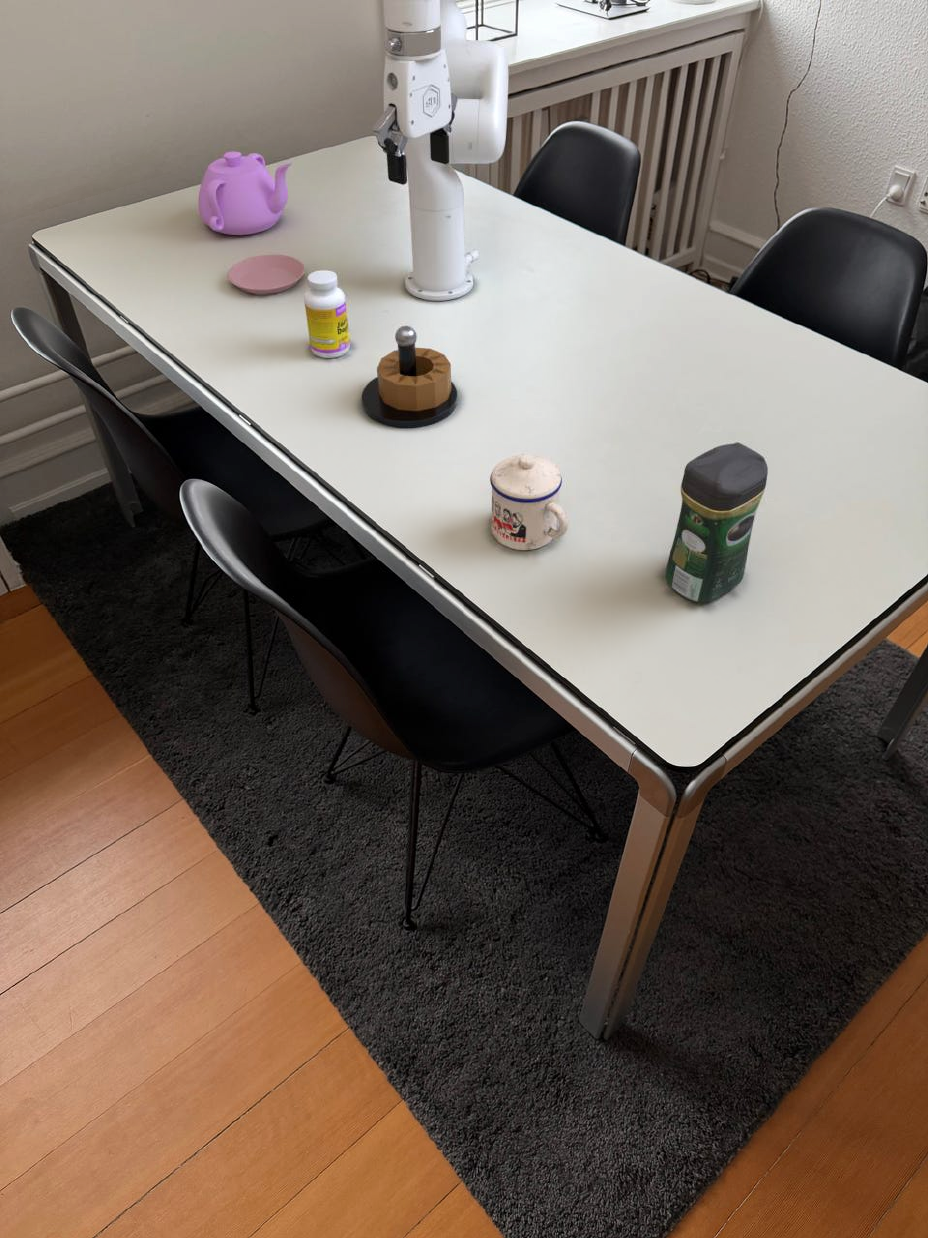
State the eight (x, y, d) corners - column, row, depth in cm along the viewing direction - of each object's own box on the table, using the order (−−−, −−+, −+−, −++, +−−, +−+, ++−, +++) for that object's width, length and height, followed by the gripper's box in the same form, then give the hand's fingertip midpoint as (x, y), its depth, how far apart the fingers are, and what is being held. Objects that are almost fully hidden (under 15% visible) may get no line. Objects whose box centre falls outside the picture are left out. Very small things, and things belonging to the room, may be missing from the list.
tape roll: (412, 365, 153) (411, 340, 150) (464, 388, 148) (464, 362, 145) (365, 394, 147) (363, 368, 144) (418, 419, 142) (416, 393, 139)
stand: (404, 365, 156) (400, 293, 147) (476, 395, 149) (476, 322, 140) (342, 406, 147) (333, 332, 138) (415, 439, 141) (411, 364, 132)
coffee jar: (704, 548, 123) (730, 427, 110) (751, 580, 118) (785, 458, 105) (651, 579, 119) (673, 458, 106) (699, 614, 114) (727, 492, 101)
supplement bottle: (344, 361, 157) (335, 287, 148) (306, 357, 158) (295, 284, 149) (355, 341, 161) (347, 268, 152) (318, 337, 162) (308, 265, 153)
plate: (285, 304, 171) (283, 293, 170) (215, 293, 175) (213, 282, 173) (318, 269, 181) (317, 259, 179) (251, 260, 184) (250, 250, 183)
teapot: (275, 254, 186) (263, 182, 176) (180, 239, 191) (163, 168, 181) (324, 211, 200) (316, 141, 190) (235, 198, 206) (222, 130, 196)
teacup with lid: (475, 528, 126) (475, 456, 118) (525, 500, 130) (528, 429, 122) (538, 574, 120) (542, 501, 111) (587, 542, 124) (595, 470, 116)
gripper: (392, 60, 122) (400, 196, 134) (474, 30, 131) (474, 159, 143) (349, 51, 125) (361, 184, 137) (432, 22, 134) (436, 149, 147)
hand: (419, 171), depth 140 cm, fingers open, 9 cm apart
